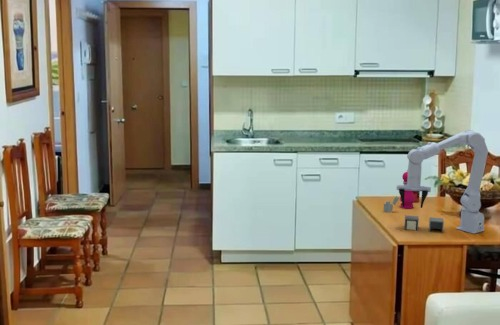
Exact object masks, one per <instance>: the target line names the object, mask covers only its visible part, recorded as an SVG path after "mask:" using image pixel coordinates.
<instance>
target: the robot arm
mask: <svg viewBox="0 0 500 325" xmlns="http://www.w3.org/2000/svg"><path fill="white" fill-rule="evenodd" d="M456 145H463V146H464V145H465V146H466V145H467V146H468V147H469V148H470V149H471V150H472V151H473V153H474V156H473V159H472V164H471V168H470V169H471V170H470V174H469V178H468V183H467V187H466V189H464V192H463V195H462V196H461V197H460V204H461V205H462V207H461V211H460V221H459V222H460V223H459V226H457V227H455V229H457V230H460V231H463V232H467V233H469V234H478V233H481V232H485V229H484V228H485V214H484V213H482V212H480V211H479V210H480V209H481V207H482V202H481V192H480V189H481V185H482V180H483V176H484V171H485V169H486V168H485V167H486V164H487V163H486V162H487V159H488V154H489V149H488V147H487V143H486V139H485V137H484V136H483V135H482V134H481V133H480V132H476V131H474V130H471V129H467V130H465V131H461V132H459V133H457V134H454V135H452V136H450V137H447V138H446V139H443V140H441V141H439V142H438V143H437V142H431V141H429V142H427V144H425V145H423V146H418V147H417V148H416V149H415V148H413V149H410V150H409V151H408V154H407V155H406V157H407V160H408V166H407V170H408V178H407V185H404V184H402V185H401V184H397V185H396V191H398V193H399V197H400V196H401V199H402V202H401V203H403V207H404V204H405V203H404V196H405V190H409V191H420V192H421V199H420V208H422V209H423V206H424V202H425V200H426V198H427V196H428V195H429V193H431V192H432V190H431V189H432V187H430V186H425V185H422V184H421V182H422V181H421V180H422V164H423V161H424V160H427V159H430V158H432V157H435V156H437V155H439V154H440V152H441V150H444V149H448V148H451V147H453V146H456Z"/></svg>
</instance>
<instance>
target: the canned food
mask: <svg viewBox="0 0 500 325" xmlns="http://www.w3.org/2000/svg"><path fill="white" fill-rule="evenodd" d="M412 192H413V195H414V198H415V201H414V202H413V203H412V204H414V203H415V204H416V203H419V201H420V197H421V196H420V194H421V191H412Z"/></svg>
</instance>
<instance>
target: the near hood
mask: <svg viewBox="0 0 500 325" xmlns="http://www.w3.org/2000/svg"><path fill="white" fill-rule="evenodd" d="M428 220H429V221H428V232H431V230H432V229H433V230H441V233H442V234H443V233H444V222H445V221H444V218H442V217H429V219H428Z"/></svg>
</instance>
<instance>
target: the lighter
mask: <svg viewBox="0 0 500 325" xmlns="http://www.w3.org/2000/svg"><path fill="white" fill-rule="evenodd" d="M399 200H400V196H395V197H394V199H393V201H392V203H391V201H386V202H383V211H384V212H383V213H390V212H392V213H393V208H394V206H396V204H397V203H398V201H399Z"/></svg>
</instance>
